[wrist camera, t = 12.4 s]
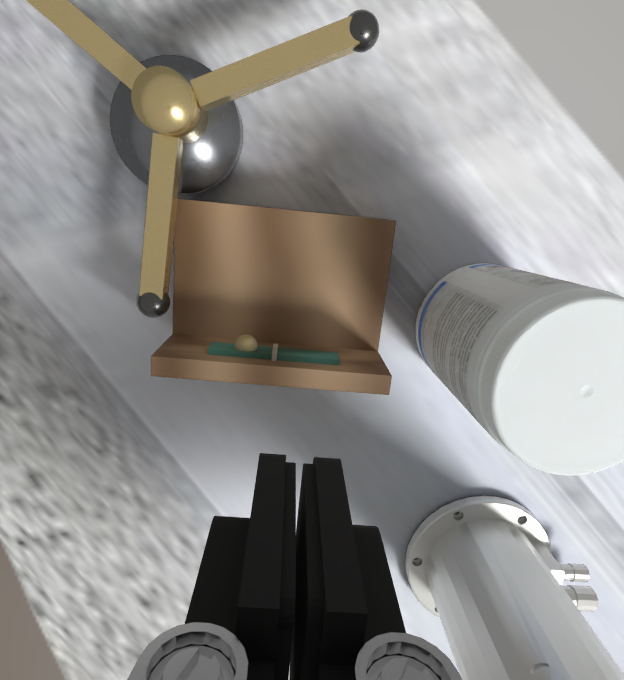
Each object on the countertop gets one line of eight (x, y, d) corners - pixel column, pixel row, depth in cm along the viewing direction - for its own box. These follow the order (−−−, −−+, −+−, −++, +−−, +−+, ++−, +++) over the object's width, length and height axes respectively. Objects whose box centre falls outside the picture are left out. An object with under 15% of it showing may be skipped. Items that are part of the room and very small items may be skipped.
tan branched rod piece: (128, -181, 28) (73, -310, 21) (371, 57, 32) (393, 15, 25) (-59, 126, 32) (-158, 104, 25) (176, 306, 36) (148, 331, 29)
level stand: (384, 219, 35) (414, 223, 26) (367, 351, 37) (388, 394, 29) (189, 199, 34) (152, 196, 25) (185, 335, 37) (151, 376, 28)
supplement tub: (451, 403, 39) (541, 515, 25) (388, 309, 37) (447, 373, 22) (557, 335, 38) (716, 413, 24) (499, 234, 35) (635, 252, 21)
